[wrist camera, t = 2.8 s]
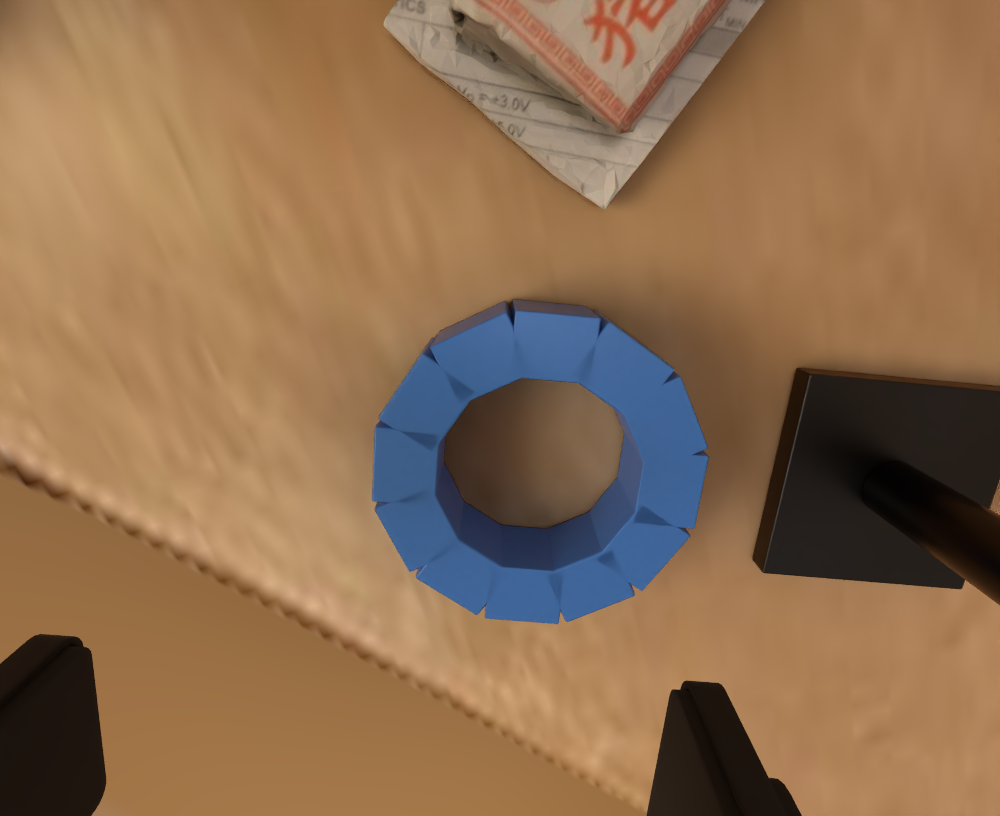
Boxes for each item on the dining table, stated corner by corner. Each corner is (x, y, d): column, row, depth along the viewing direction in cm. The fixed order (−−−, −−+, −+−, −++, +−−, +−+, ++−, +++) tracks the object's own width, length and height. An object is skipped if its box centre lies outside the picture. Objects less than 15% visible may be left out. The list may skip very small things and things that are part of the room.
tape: (383, 562, 28) (367, 609, 24) (396, 288, 24) (379, 297, 21) (652, 584, 28) (673, 633, 25) (701, 316, 25) (734, 330, 21)
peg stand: (751, 559, 28) (911, 765, 17) (795, 367, 25) (1016, 466, 15) (943, 575, 28) (1221, 788, 17) (1006, 386, 26) (1375, 498, 15)
